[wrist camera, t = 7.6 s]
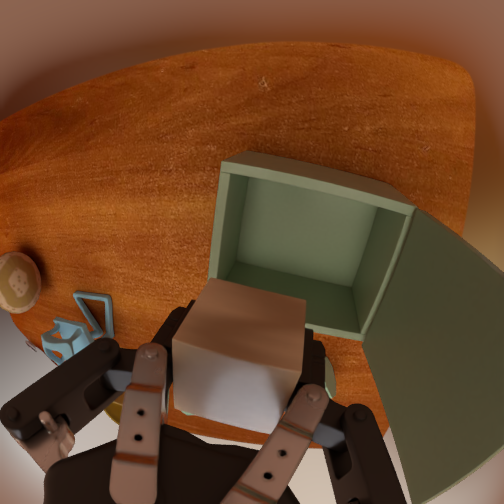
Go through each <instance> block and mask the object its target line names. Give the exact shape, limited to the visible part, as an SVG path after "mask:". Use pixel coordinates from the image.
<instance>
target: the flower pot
mask: <svg viewBox="0 0 504 504" xmlns="http://www.w3.org/2000/svg"><path fill="white" fill-rule="evenodd" d="M124 394H125V392H124V393H123V394H122V395H120V396H119V397H118V398H117V399H116V400H115V401H113V402H112V403H111V404H110V405H109V406H108V407H107V408H105V409H104V411H105V412H106V414H107V415H108V416H109V417H110V418H111V419H112V420H113V421H114V422H116V423H117V424H118V425H119V424H120V417H121V411H122V405H123V400H124Z"/></svg>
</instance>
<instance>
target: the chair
mask: <svg viewBox="0 0 504 504" xmlns="http://www.w3.org/2000/svg"><path fill="white" fill-rule="evenodd" d="M73 296H74V298H75V300H76V302H77V304H78V306H79V307H80V309H81V310H82V312H83V313H84V315H85V317H86V318H87V320H88V321H89V323H90V324H91V326H92V327H93V329H94V331H91V332H89V331H88V329H87V326H86V324H85V323H81V322H75V321H69V320H66V319H63V318H60V317H56V318H55V319H54V323H55V326H54V328H53V329H52V330H50V331H47V332H45V333H44V334H42V335H41V338H42V344H43V349H44V351H45V353H46V355H47V356H48V357H49V358H50V359H52V360H53V361H55V362H56V363H57V364H58V365H60V364H62V363H63V362H64V361H65V360H68V359H69V358H70V357H72V356H73V355H75V354H76V353H78V352H79V351H81V350H82V349H83V348H85V347H86V346H88V345H89V344H91V343H92V342H94V341H95V340H94V339H93V338H97V337H100V336H101V335H102V334H103V331H102V329H101V328H100V326H99V324H98V323H97V321H96V320H95V318H94V317H93V315H92V314H91V312H90V311H89V309H88V308H87V306H86V305H85V303H84V302H83V300H82V298H87V299H93V300H100V301H104V302H105V322H106V334H105V335H104V336H103V337H102V338H104V337H107V338H113V337H114V330H113V318H112V300H111V297H110V296H109V295H105V294H97V293H89V292H81V291H76V292H75V293H74V294H73ZM58 331H59V332H60V334H61V336H62V338H63V339H58V338H55V337H53V336H51V335H53V334H55V333H57V332H58ZM51 350H55V351H59V352H61V353H62V355H63V356H62V357H61V358H58V357H57V356H55V355H54V354H53V352H52V351H51Z"/></svg>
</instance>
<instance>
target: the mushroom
mask: <svg viewBox="0 0 504 504" xmlns="http://www.w3.org/2000/svg"><path fill="white" fill-rule="evenodd" d="M40 292H41V276H40V272H39V269H38V268H37V266H36V264H35V262H34V261H33V260H32V259H31V258H30V257H29V256H27V255H25V254H23V253H21V252H15V251H13V252H8V253H5V254H3V255H2V256H0V307H1V308H2V309H4V310H6V311H8V312H10V313H18V314H19V313H22V312H25V311H28V310H29V309H30V308H31V307H33V306H34V305H35V303H36V301H37V300H38V298H39V295H40Z"/></svg>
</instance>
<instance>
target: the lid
mask: <svg viewBox="0 0 504 504" xmlns="http://www.w3.org/2000/svg"><path fill="white" fill-rule="evenodd" d="M362 348H363V350H364V353H365V356H366V358H367V361H368V364H369V366H370V369H371V372H372V375H373V377H374V380H375V383H376V386H377V389H378V392H379V394H380V397H381V400H382V403H383V406H384V409H385V412H386V415H387V418H388V421H389V425H390V428H391V431H392V434H393V437H394V441H395V444H396V447H397V450H398V454H399V457H400V461H401V464H402V468H403V471H404V475H405V479H406V482H407V486H408V490H409V494H410V498H411V502H412V504H426V503H427V502H429V501H431V500H433V499H434V498H436V497H437V496H439V495H441V494H442V493H444V492H446V491H447V490H449V489H451V488H452V487H454V486H455V485H457V484H458V483H460V482H461V481H462V480H464V479H465V478H467V477H468V476H470V475H471V474H472V473H474V472H475V471H476V470H478V469H479V468H480V467H482V466H483V465H484V464H485V463H487V462H488V461H489V460H491V459H492V458H493V457H494V456H495V455H497V454H498V453H499V452H500V451H501V450H502V449H504V272H502V271H501V270H500V269H499V268H498V267H497V266H496V265H494V264H493V263H492V262H491V261H490V260H489V259H487V258H486V257H485V256H484V255H482V254H481V253H480V252H479V251H478V250H477V249H475V248H474V247H473V246H472V245H470V244H469V243H468V242H467V241H465V240H464V239H463V238H461V237H460V236H459V235H458V234H456V233H455V232H454V231H452V230H451V229H450V228H448V227H447V226H446V225H444V224H443V223H441V222H440V221H439V220H437V219H436V218H434V217H433V216H432V215H430V214H429V213H427V212H426V211H423V210H420V209H417V211H416V214H415V217H414V220H413V223H412V226H411V229H410V232H409V235H408V238H407V241H406V243H405V246H404V249H403V252H402V254H401V257H400V260H399V262H398V265H397V267H396V270H395V272H394V275H393V277H392V280H391V282H390V285H389V287H388V289H387V292H386V294H385V296H384V299H383V301H382V303H381V306H380V308H379V310H378V312H377V314H376V316H375V319H374V321H373V323H372V325H371V327H370V329H369V331H368V333H367V335H366V337H365V339H364V341H363V343H362Z"/></svg>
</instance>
